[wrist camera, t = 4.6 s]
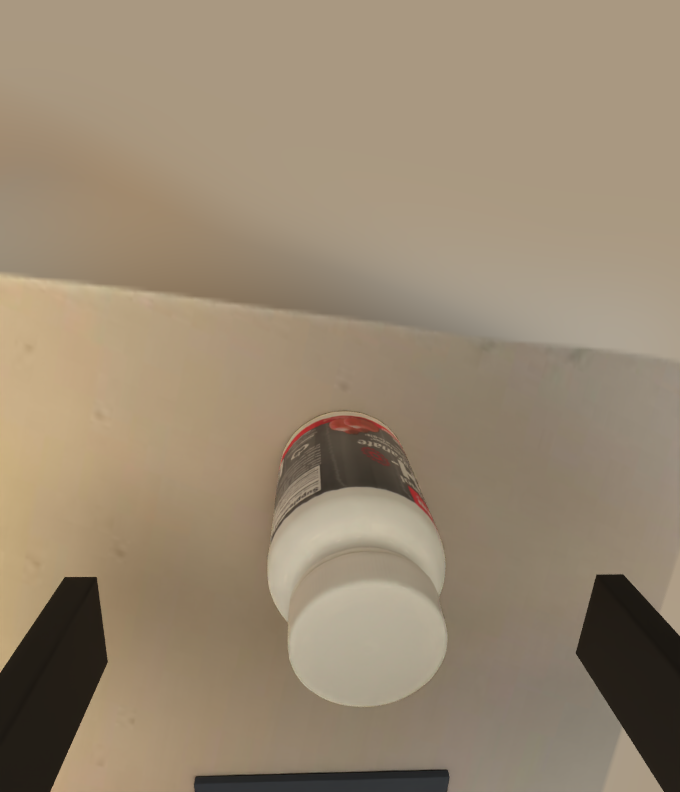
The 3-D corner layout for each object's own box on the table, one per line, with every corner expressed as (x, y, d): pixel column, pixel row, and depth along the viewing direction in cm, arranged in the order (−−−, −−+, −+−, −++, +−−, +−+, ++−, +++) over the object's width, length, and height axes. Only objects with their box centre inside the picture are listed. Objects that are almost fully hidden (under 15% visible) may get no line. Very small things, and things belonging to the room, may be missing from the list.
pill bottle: (429, 445, 21) (521, 616, 12) (361, 538, 23) (398, 756, 13) (321, 383, 20) (331, 521, 11) (256, 485, 21) (216, 685, 12)
